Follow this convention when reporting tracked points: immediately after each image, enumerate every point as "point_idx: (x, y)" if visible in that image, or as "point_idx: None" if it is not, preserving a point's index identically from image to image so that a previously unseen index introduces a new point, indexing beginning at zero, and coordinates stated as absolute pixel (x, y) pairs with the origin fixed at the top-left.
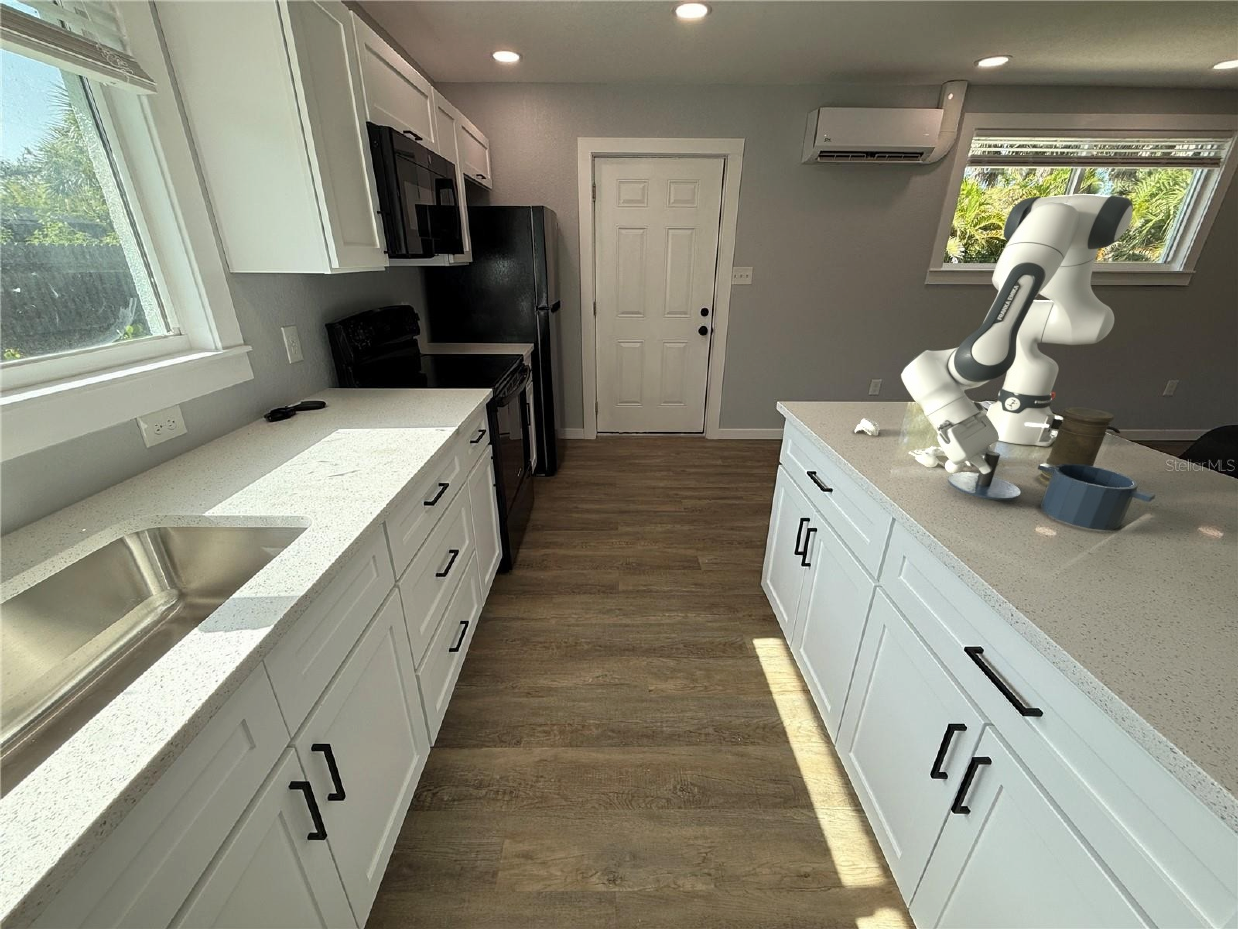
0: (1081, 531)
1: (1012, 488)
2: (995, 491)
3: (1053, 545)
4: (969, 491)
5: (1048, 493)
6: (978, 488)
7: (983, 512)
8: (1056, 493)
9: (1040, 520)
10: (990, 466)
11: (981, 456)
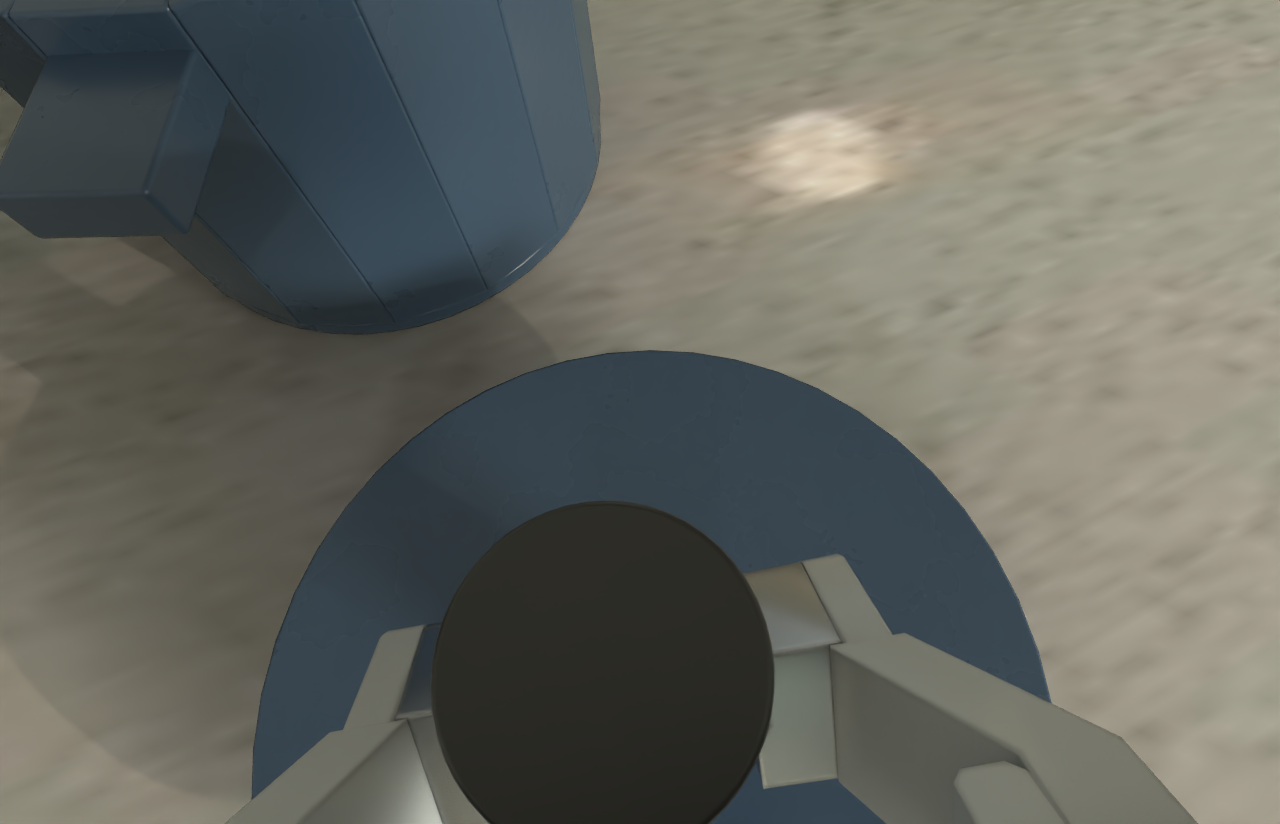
0: (613, 69)
1: (482, 459)
2: (735, 511)
3: (977, 62)
4: (1027, 677)
5: (467, 169)
6: None
7: (961, 501)
8: (531, 67)
9: (674, 231)
10: (771, 595)
11: (1006, 779)
